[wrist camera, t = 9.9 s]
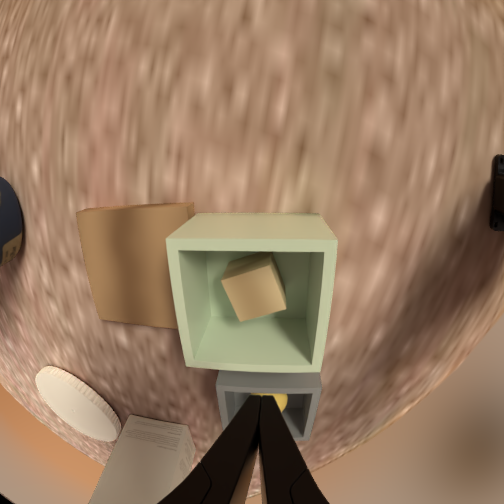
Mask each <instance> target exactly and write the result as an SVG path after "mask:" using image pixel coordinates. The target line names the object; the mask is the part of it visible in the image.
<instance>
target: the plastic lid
mask: <svg viewBox="0 0 504 504" xmlns="http://www.w3.org/2000/svg"><path fill="white" fill-rule="evenodd" d="M35 380H36V384H37V385H36V386H37V388H38V391H39V392H40V394H41V396H42V397H43V399H44V400H45V402H46V403H47V404H48V405H49V406H50V408H51V409H52V410H53V411H54V412H55V413H56V414H57V415H58V416H59V417H60V418H61V419H63V421H65V422H66V423H67V424H69V425H70V426H72V427H73V428H74V429H76V430H77V431H79V432H81V433H83V434H85V435H86V436H89V437H92V438H93V439H96V440H99V441H100V440H101V441H104V442H105V441H106V442H110V441H111V442H112V441H114V440H116V438H117V437H118V435H119V433H120V431H121V423H120V420H118V419H119V418H118V417H117V415H116V414H115V412H114V411H113V409H112V408H110V406H109V405H108V404H107V402H105V401H104V399H103V398H101V397H100V395H98V394H97V393H96V392H95V391H93V389H92V388H90V387H89V386H88V385H86V384H85V383H84V382H82V381H81V380H80V379H77V377H74V376H73V375H72V374H69V372H66V371H65V370H62V369H59V368H58V367H57V368H56V367H53V366H45V367H43V368H42V369H41V371H40V372H39V373H38V374H37V375H36V379H35Z"/></svg>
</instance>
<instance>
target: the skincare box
mask: <svg viewBox="0 0 504 504" xmlns="http://www.w3.org/2000/svg"><path fill="white" fill-rule="evenodd" d="M195 451H196V448H195V445H194V442H193V439H192V436H191V433H190V430H189V427H188V425H182V424H176V423H170V422H164V421H159V420H153V419H148V418H144V417H139V416H135V415H131V414H130V415H129V417H128V419H127V421H126V423H125V425H124V427H123V429H122V432H121V434H120V436H119V438H118V440H117V442H116V444H115V446H114V449H113V451H112V453H111V455H110V457H109V459H108V461H107V464H106V466H105V468H104V470H103V472H102V475H101V477H100V479H99V481H98V484H97V486H96V488H95V490H94V493H93V495H92V497H91V499H90V501H89V503H88V504H157V503H158V502H159V501H160V500H162V499H163V498H164V497H165V496H167V495H168V494H169V493H170V492H171V491H172V490H174V489H175V488H176V487H177V486H178V485H179V484H180V483H181V482H182V481H183V480H184V479H185V478H186V477H187V476H188V475H189V474H190V471H191V467H192V463H193V459H194V455H195Z"/></svg>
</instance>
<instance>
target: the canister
mask: <svg viewBox="0 0 504 504" xmlns="http://www.w3.org/2000/svg"><path fill="white" fill-rule="evenodd" d="M21 240H22V218H21V211H20V207H19V203H18V200H17V197H16V195H15V192H14V190H13V189H12V187H11V185H10V184H9V183H8V182H7V181H6V180H5V179H4V178H2V177H0V266H2V265H3V264H5V263H7V262H9V261H11V260H12V259H13V258H14V257H15V256H16V254H17V253H18V251H19V249H20V247H21Z"/></svg>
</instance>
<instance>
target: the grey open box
mask: <svg viewBox="0 0 504 504" xmlns="http://www.w3.org/2000/svg"><path fill="white" fill-rule="evenodd" d="M321 390H322V384H321V378H320V372H304V373H279V372H248V371H230V370H219V373H218V377H217V381H216V392H217V398H218V404H219V411H220V417H221V422H222V428H223V431H224V429H225V428H226V427H227V425H228V424H229V423H230V421H231V420H232V418H233V417H234V416H235V414H236V413H237V411H238V410H239V409H240V407H241V406H242V404H243V403H244V402H245V400H246V399H247V397H248V396H249V395H251V393H270V394H287V398H288V400H287V405H286V407H285V409H284V410H283V411H282V412H281V413H282V415H283V417H284V419H285V421H286V423H287V426H288V428H289V430H290V432H291V434H292V436H293V438H294V440H295V441H307V440H309V439H310V435H311V431H312V427H313V424H314V420H315V416H316V412H317V408H318V403H319V399H320V395H321Z"/></svg>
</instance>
